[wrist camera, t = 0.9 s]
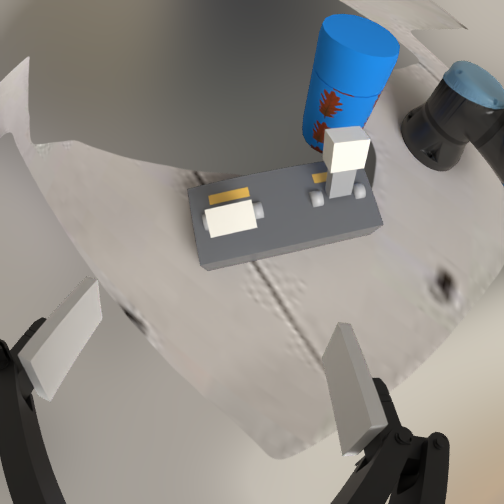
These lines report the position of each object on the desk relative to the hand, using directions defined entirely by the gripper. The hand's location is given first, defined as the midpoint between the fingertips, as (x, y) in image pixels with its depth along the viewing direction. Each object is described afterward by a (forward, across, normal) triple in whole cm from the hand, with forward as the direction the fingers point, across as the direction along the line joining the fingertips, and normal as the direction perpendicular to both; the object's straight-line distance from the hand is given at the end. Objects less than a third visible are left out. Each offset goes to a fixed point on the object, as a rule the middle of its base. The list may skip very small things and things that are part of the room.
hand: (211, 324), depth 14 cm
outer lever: (+28, -1, -3) cm, 28 cm away
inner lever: (+30, +14, +3) cm, 33 cm away
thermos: (+44, +14, +12) cm, 48 cm away
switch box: (+34, +7, -3) cm, 35 cm away
